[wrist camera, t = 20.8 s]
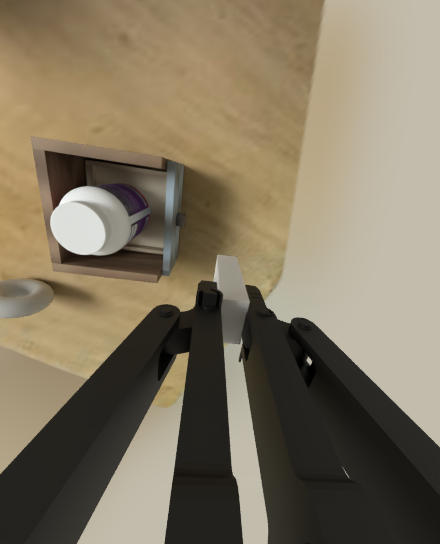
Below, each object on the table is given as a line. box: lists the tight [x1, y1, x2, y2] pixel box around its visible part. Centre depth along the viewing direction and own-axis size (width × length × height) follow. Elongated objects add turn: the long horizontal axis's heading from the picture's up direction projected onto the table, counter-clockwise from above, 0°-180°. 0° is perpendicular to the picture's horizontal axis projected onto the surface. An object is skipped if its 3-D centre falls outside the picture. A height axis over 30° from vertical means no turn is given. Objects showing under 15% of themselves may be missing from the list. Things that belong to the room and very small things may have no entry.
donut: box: [0, 279, 54, 318], centre depth 38 cm, size 10×4×10 cm, turn 76°
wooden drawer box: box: [31, 136, 174, 283], centre depth 32 cm, size 16×14×11 cm
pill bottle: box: [50, 183, 151, 255], centre depth 29 cm, size 8×8×14 cm
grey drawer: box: [85, 160, 185, 276], centre depth 34 cm, size 16×15×8 cm
